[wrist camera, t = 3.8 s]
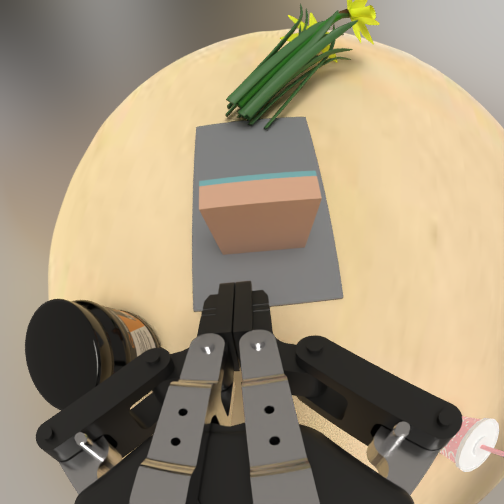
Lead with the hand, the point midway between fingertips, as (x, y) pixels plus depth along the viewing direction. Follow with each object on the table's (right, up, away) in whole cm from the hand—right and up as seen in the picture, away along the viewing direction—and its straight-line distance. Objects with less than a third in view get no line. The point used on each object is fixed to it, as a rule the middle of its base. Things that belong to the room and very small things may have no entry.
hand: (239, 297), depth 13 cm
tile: (+2, +3, +17) cm, 18 cm away
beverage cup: (+24, -20, +9) cm, 32 cm away
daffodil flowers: (+10, +31, +26) cm, 41 cm away
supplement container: (-14, -10, +15) cm, 23 cm away
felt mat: (+1, +9, +19) cm, 21 cm away
